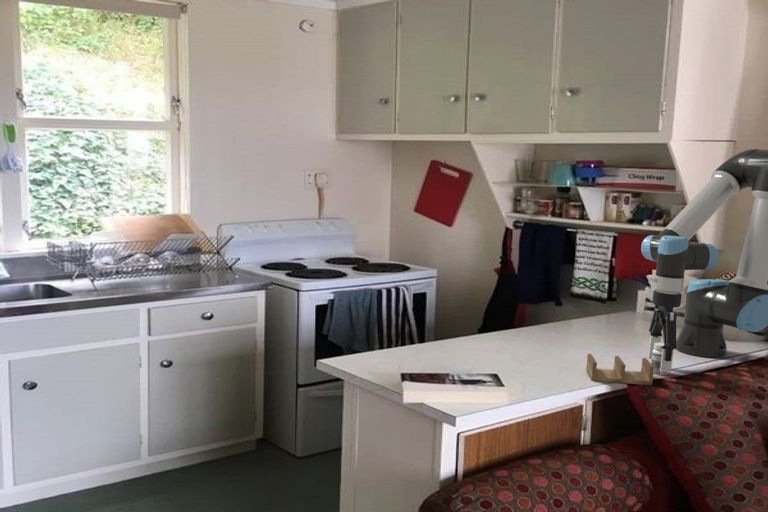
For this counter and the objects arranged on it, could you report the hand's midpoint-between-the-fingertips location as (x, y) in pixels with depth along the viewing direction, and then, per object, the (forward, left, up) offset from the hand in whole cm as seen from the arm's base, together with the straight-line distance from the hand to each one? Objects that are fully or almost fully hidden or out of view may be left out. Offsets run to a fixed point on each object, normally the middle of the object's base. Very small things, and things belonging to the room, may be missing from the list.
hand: (659, 365), depth 229 cm
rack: (+13, +8, -2) cm, 15 cm away
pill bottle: (0, 0, -3) cm, 2 cm away
